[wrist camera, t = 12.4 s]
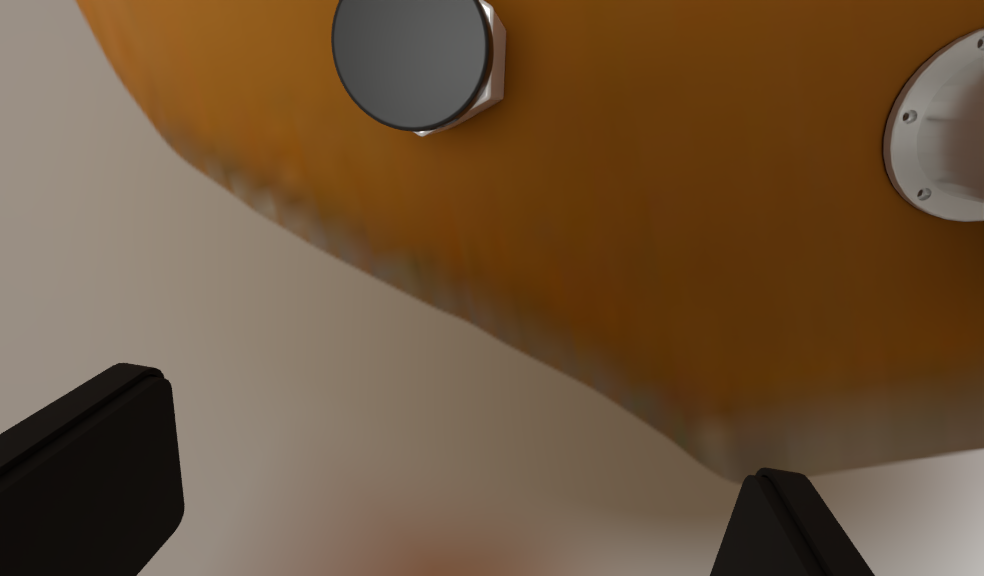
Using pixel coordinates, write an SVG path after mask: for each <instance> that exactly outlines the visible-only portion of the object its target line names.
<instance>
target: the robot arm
mask: <svg viewBox="0 0 984 576" xmlns="http://www.w3.org/2000/svg"><path fill="white" fill-rule="evenodd" d="M904 114H905V117H904V119H903V115H904ZM883 156H884V161H885V166H886V170H887V173H888V176H889V178H890V180H891V182H892V184H893V186H894V188H895V189H896V190H897V191H898V193H899V194H900V195H901V196H902V198H903V199H905V200H906V201H907V202H909V203H910V204H911V205H912V206H914V207H915V208H917V209H919V210H921V211H923V212H925V213H928V214H930V215H933V216H937V217H940V218H944V219H947V220H955V221H962V222H970V221H984V28H982V29H978V30H976V31H974V32H971V33H969V34H967V35H965V36H962V37H960V38H958V39H956V40H955V41H953V42H951V43H950V44H948V45H947V46H945V47H944V48H942V49H941V50H939V51H938V52H936V53H935V54H934V55H933V56H932V57H931V58H930V59H928V60H927V61H926V62H925V63H924V64H923V65H922V66H921V67H920V68H919V69H918V70H917V71H916V72H915V74H914V75H913V76H912V77H911V78H910V80H909V81H908V82H907V83H906V85H905V86H904V88H903V89H902V91H901V93H900V94H899V96H898V98H897V99H896V101H895V103H894V106H893V108H892V110H891V113H890V115H889V118H888V121H887V125H886V130H885V135H884V155H883ZM918 192H919V193H918ZM183 514H184V497H183V488H182V478H181V470H180V461H179V450H178V441H177V432H176V423H175V413H174V404H173V395H172V387H171V384H170V382H169V381H168V380H167V379H164V375H163V373H162V372H161V371H160V370H159V369H157V368H152V367H146V366H140V365H134V364H128V363H118V364H116V365H113V366H112V367H110V368H108V369H107V370H105V371H103V372H102V373H100V374H98V375H97V376H95V377H93V378H92V379H90V380H89V381H87V382H85V383H84V384H82V385H80V386H79V387H77V388H75V389H74V390H72V391H70V392H69V393H68V394H66V395H64V396H62V397H61V398H59V399H57V400H56V401H54V402H52V403H51V404H49V405H48V406H46V407H44V408H43V409H41V410H39V411H38V412H36V413H34V414H33V415H31V416H29V417H28V418H26V419H25V420H23V421H21V422H20V423H18V424H16V425H15V426H13V427H11V428H10V429H8V430H6V431H5V432H3V433H1V434H0V576H137V574H138V573H139V572H140V571H141V570H142V569H143V567H144V566H145V565H146V564H147V563H148V562H149V561H150V559H151V558H152V557H153V556H154V555H155V554H156V552H157V551H158V550H159V549H160V548H161V547H162V545H163V544H164V543H165V542H166V541H167V540H168V539H169V537H170V536H171V535H172V534H173V533H174V532H175V530H176V529H177V527H178V526H179V524H180V522H181V520H182V517H183ZM710 576H875V575H874V574H873V573H872V571H871V570H870V568H869V566H868V565H867V564H866V562H865V561H864V559H863V558H862V556H861V555H860V553H859V552H858V550H857V549H856V548H855V546H854V545H853V543H852V542H851V540H850V539H849V537H848V536H847V535H846V533H845V531H844V530H843V529H842V527H841V526H840V524H839V523H838V521H837V520H836V518H835V517H834V516H833V514H832V513H831V511H830V510H829V508H828V507H827V505H826V504H825V502H824V501H823V499H822V498H821V497H820V495H819V494H818V492H817V491H816V489H815V488H814V486H813V485H812V483H811V482H810V480H809V479H808V478H807V477H806V476H805V475H803V474H800V473H795V472H789V471H783V470H777V469H771V468H761V469H760V470H759V471H758V472H757V473H756V475H755V476H754V475H749V476H747V477H746V478H745V480H744V482H743V484H742V487H741V490H740V493H739V495H738V498H737V501H736V504H735V507H734V510H733V512H732V515H731V518H730V521H729V523H728V526H727V529H726V532H725V535H724V537H723V540H722V543H721V546H720V549H719V551H718V554H717V557H716V560H715V563H714V566H713V568H712V571H711V574H710Z"/></svg>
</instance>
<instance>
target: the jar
mask: <svg viewBox="0 0 984 576" xmlns="http://www.w3.org/2000/svg"><path fill="white" fill-rule="evenodd" d="M331 43H332V53H333V59H334V63H335V67H336V70H337V73H338V76H339V78H340V80H341V82H342V84H343V86H344V88H345V90H346V91H347V93H348V94H349V96H350V97H351V98H352V100H353V101H354V102H355V103H356V104H357V105H358V106H359V108H360V109H362V110H363V111H364V112H365V113H366V114H367V115H369V116H370V117H372V118H373V119H375V120H376V121H378V122H380V123H382V124H384V125H386V126H389V127H392V128H395V129H399V130H405V131H412V132H414V133H416V134H417V135H419V136H421V137H423V136H427V135H430V134H434V133H437V132H441V131H444V130H448V129H451V128H453V127H454V126H456V125H458V124H460V123H462V122H463V121H465V120H467V119H469V118H471V117H472V116H474V115H476V114H478V113H479V112H481V111H483V110H485V109H487V108H488V107H490V106H492V105H494V104H496V103H497V102H499V101H501V100H502V99H503V96H504V73H505V50H506V29H505V27H504V26H503V24H502V22H501V20H500V19H499V17H498V15H497V14H496V12H495V10H494V9H493V7H492V6H491V5H490V4H488V3H487V2H485V1H484V0H339V3H338V5H337V8H336V11H335V15H334V19H333V24H332V36H331Z"/></svg>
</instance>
